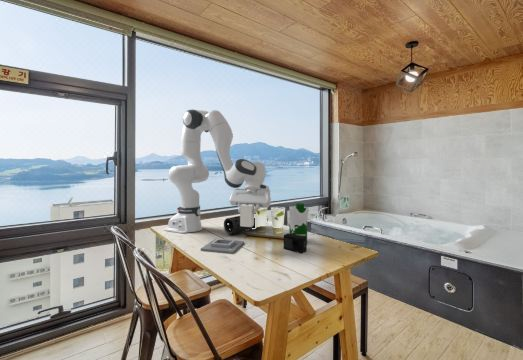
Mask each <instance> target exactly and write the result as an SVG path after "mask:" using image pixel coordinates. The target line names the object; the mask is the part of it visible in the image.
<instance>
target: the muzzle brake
mask: <svg viewBox="0 0 523 360" xmlns="http://www.w3.org/2000/svg"><path fill="white" fill-rule="evenodd" d="M268 221H269V217H268V218H267V223H268ZM252 228H255V218H254V225H253V226H252V227H243V226H240V215H238V216H232V217H231V216H230V217H227V218H225V219H224V221H223V229H224V231H225V232H226V233H227V234H228V236H234V235H236V234H237V235H238V234H240V233H243V232H246V231H248V229H250V230H252Z"/></svg>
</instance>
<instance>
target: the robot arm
mask: <svg viewBox="0 0 523 360" xmlns="http://www.w3.org/2000/svg"><path fill="white" fill-rule="evenodd" d="M182 122H183V127H182V130H181V131H182V133H181V138H180V139H181V141H180V154H181V156H182V157H183V158H185V160H186V161H187V164H185V165H184V164H181V165H180V164H179V165H174V166H171V168H170V169H169V171H168V179H169V180H170V182H171V183H172V184H173V185H175V187H176V188H177V189H178V192H179V198H180V199H179V200H180V206H178V207H176V211H177V213H176V214H174V215H173V216H172V217H171V218H170V219H169V220H168V226H166V227H164V229H163V230H164V231H165V232H166V231H167V232H171V233H172V232H173V233H179V234H186V233H196V232H199V231H202V230H203V225H202V221H201V206H200V193H199V192H198V191H197V190H196V189H194V187H193V184H198V183H202V182H206V181H207V180H208V179H209V176H210V172H209V169H208V167H207V166H206V165H205V164H204V163H203V161H202V155H201V143H202V142H201V141H202V138H201V137H202V133H203V132H204V133H208V132H209V133H210V135H211V138H212V141H213V143H214V147H215V153H216V155H217V158H218V161H219V163H220V166H221V168H222V171H223V175H224V177H223V178H224V181H225V184H226V185H227V186H229V187H230V188H233V190H232V192H231V194H230V197H229V204H230V206H237V208H238V209H237V212H238V213H239V214H240V205H242V204H254V209H253V211H252V213H253V214H256V212H258V210H259V209H261V208H269V207H270V206H271V205H272V203H271V202H272V201H271V200H272V199H271V198H272V197H271V190H270V187H269V186H268V185H266V184H263V183H264V182H265V178H266V172H267V171H266V167H265V164H263V163H262V162H260V161H254V162H251V161H249V160H247V159H245V158H239V159H237V160H236V161H235V162H234V164H233V161H232V159H231V155H230V149H231V144H232V141H233V138H234V136H233V135H234V133H233V130H232V127H231V126H230V124H229V123H228V120H227V119H226V118H225V116H224V115H223V114H222V112H221V111H219V110H211V111H207V110H199V109H187V110H186V111H185V112H184V113H183V115H182ZM244 182H245V184H244V187H243V188H241V186H242V185H243V183H244Z"/></svg>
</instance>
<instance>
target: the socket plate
mask: <svg viewBox="0 0 523 360" xmlns="http://www.w3.org/2000/svg"><path fill="white" fill-rule="evenodd" d="M244 244H245V241H243V240H242V241H241V240H235V239H225V238H214V239H212V240H211V241H210V242H208V243H207V244H205V245H204V246H202V247H201V248H200V251H201V252H202V251H203V252H211V253H222V254H231V255H232V254H235V252H236V251H237V250H239V248H241V247H242V246H243V245H244Z"/></svg>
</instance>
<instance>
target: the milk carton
mask: <svg viewBox="0 0 523 360" xmlns="http://www.w3.org/2000/svg"><path fill="white" fill-rule="evenodd" d="M288 207H289V208H288V209H289V212H288V213H289V226H288V227H289V230H288V231H289V233H290V234H295V235H300V236H304V237H307V238H308V219H309V218H308V215H309V208H308V207H306V206H305V203H301V202H300V203H296V206H295V205H294V206H288Z"/></svg>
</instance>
